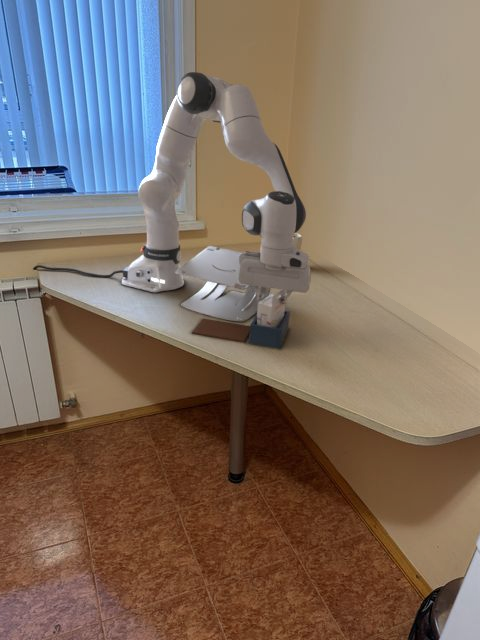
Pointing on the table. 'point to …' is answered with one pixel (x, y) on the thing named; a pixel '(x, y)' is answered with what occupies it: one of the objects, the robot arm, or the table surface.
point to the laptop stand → (220, 286)
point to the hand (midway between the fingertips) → (272, 301)
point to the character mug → (297, 241)
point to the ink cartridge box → (271, 310)
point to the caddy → (268, 333)
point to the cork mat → (222, 330)
